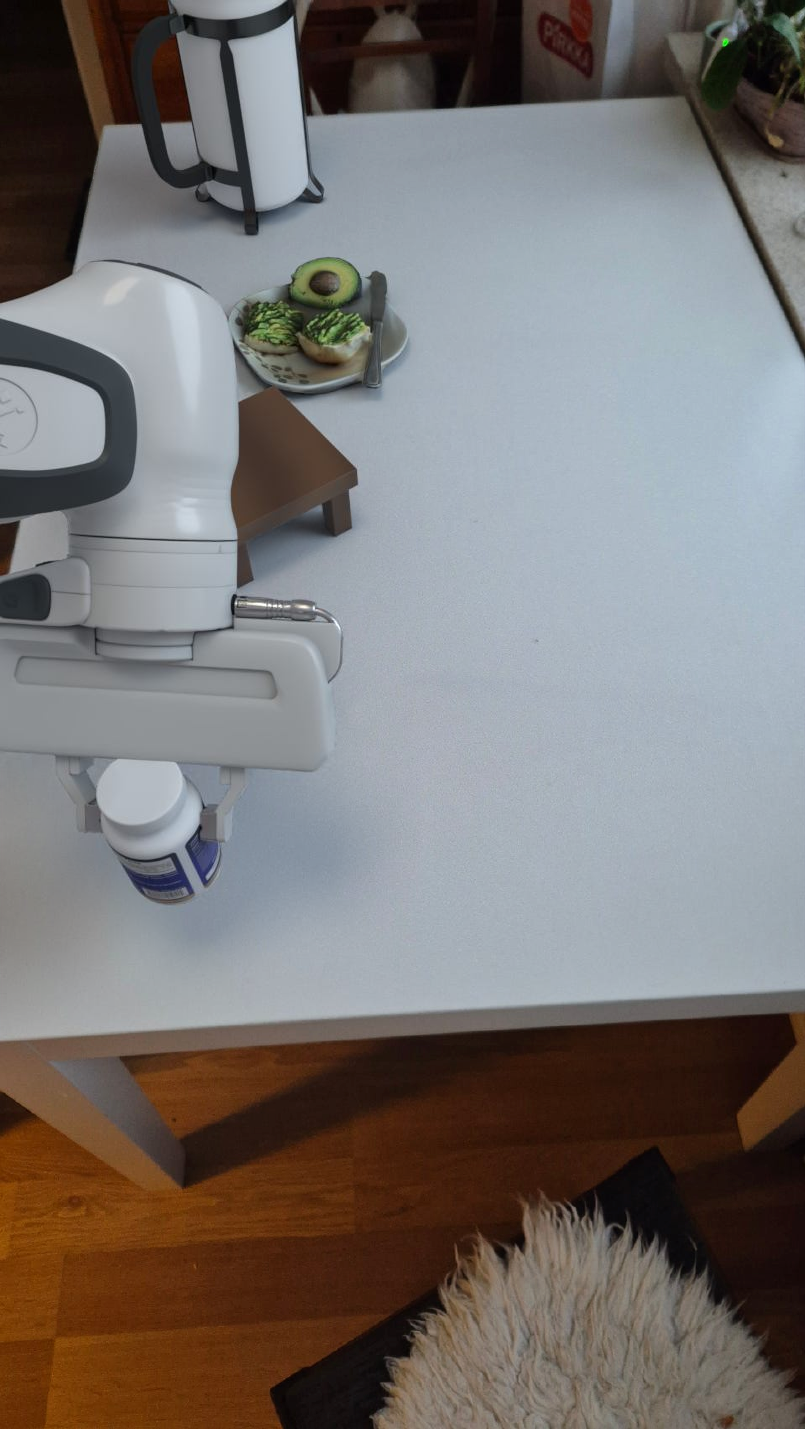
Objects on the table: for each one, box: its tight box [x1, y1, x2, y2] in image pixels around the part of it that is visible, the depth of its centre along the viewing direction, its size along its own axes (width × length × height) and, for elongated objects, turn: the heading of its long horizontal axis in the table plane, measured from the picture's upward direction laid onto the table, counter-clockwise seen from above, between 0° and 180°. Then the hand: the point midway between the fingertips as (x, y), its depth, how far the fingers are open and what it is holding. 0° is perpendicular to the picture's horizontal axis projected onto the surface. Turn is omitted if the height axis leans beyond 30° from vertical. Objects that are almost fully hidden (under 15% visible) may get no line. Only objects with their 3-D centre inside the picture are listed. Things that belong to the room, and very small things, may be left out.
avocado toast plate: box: [227, 256, 409, 395], centre depth 100 cm, size 19×18×5 cm
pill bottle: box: [96, 759, 223, 906], centre depth 58 cm, size 6×6×10 cm
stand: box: [231, 385, 359, 589], centre depth 86 cm, size 13×13×7 cm
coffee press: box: [130, 0, 325, 234], centre depth 104 cm, size 17×16×30 cm
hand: (154, 834), depth 57 cm, fingers closed on pill bottle, 6 cm apart
